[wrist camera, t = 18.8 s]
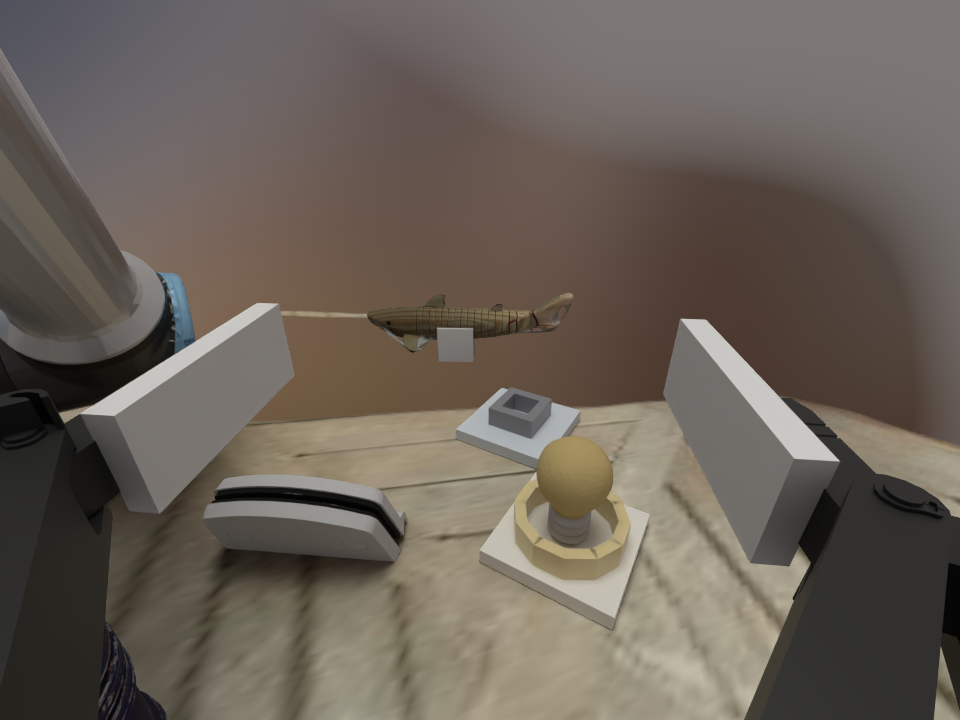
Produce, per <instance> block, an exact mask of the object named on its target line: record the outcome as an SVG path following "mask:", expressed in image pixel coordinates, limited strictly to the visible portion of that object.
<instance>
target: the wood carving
mask: <svg viewBox="0 0 960 720" xmlns="http://www.w3.org/2000/svg"><path fill="white" fill-rule="evenodd" d="M444 297H445V295H437V296H434V297H433V298H432V299H431V300H429V301H428V302H427V304H426V305H425V306H424V307H416V308H415V307H411V308H410V307H398V308H394V309H393V308H388V309H381V310H374V311H369V312H368V314H367V317H368V319H369V320H370V321H371V323H373V324H374V325H376V326H378V327H380V328H381V329H382V330H384V331H385V332H386V333H387V334H388V335H389V336H391V337H392V338H394V339H395V340H397V341H398V342H399V343H400V344H402V345H403V346H404V347H405V348H407V349H408V350H409V351H411V352H415V351H419V350H421V349H423V348H420V347H421V346H422V345H424V344H426V343H427V342H430V341H432V340H438V357H439V361H474V351H475V339H477V338H487V337H496V336H502V335H509V334H516V333H533V332H550V331H554V330H555V329H556V328H557V327H558V326H559V324H560V323H561V321H562V319H563V318H564V317H565V315H566V313H567V312H568V310H569V308H570V306H571V304H572V301H573V295H572V294H571V293H566V294H563V295H560V296H558V297H556V298H554V299H552V300H550V301H548V302H547V303H545V304H543V305H541V306H539V307H538V308H536V309H533V310H528V311H522V310H521V311H514V310H503V306H502V304H497V305H496V306H494V307H493V308H492V309H483V308H477V309H473V308H464V309H461V308H447V307H446V306H445V302H444ZM563 306H565V313H564V316H563V318H562V319H561V321H559V320H558V319H557V315H558V312H559V310H560V309H561V308H562V307H563ZM531 328H542V329H543V330H538V331H529V330H532V329H531ZM394 335H395V336H399V337H403V341H399V340H398V339H397V338H396V337H395V336H394Z"/></svg>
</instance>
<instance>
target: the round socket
mask: <svg viewBox="0 0 960 720" xmlns="http://www.w3.org/2000/svg"><path fill="white" fill-rule="evenodd" d="M548 513H549V502H548V501H547V500H546V498H545V497H544V496H543V494H542V492H541V490H540V488H539V485H538V481H537V475H536V473H535V474H534V476H533V477H532V478H531V480H530V481H529V482H528V483H527V484H526V485H525V486H524V488H523V489H522V491H521V492H520V493H519V495H518V496H517V497H516V499H515V501H514V503H513V505H512V506H511V508H510V509H509V510H508V512H507V513H506V514H505V516H504V517H503V519H502V520H501V521H500V523H499V524H498V525H497V527H496V528H495V530H494V531H493V532H492V534H491V535H490V537H489V538H488V539H487V541H486V542H485V543H484V545H483V546H482V548H481V549H480V562H481V563H483V564H485V565H487V566H489V567H491V568H493V569H495V570H497V571H499V572H500V573H502V574H504V575H506V576H508V577H510V578H512V579H514V580H516V581H518V582H520V583H522V584H524V585H526V586H527V587H529V588H531V589H533V590H535V591H537V592H539V593H541V594H543V595H545V596H547V597H549V598H551V599H553V600H555V601H556V602H558V603H560V604H562V605H564V606H566V607H568V608H570V609H572V610H574V611H576V612H578V613H580V614H582V615H584V616H585V617H587V618H589V619H591V620H593V621H595V622H597V623H599V624H601V625H603V626H605V627H607V628H609V629H611V630H613V627H614V624H615V621H616V618H617V615H618V612H619V609H620V606H621V603H622V600H623V597H624V594H625V591H626V588H627V585H628V582H629V579H630V576H631V573H632V570H633V567H634V564H635V561H636V558H637V555H638V552H639V549H640V546H641V543H642V541H643V538H644V535H645V532H646V529H647V526H648V521H649V517H650V514H647V513H645V512H642V511H640V510H637V509H634V508H632V507H629V506H626V505H624V503H623V501H622V500H621V499H620V498H618V497H617V496H616V495H615V494H614V493H613V492H612V491H610V493H609V495H608V497H607V498H606V499H605V500H604V502H603V503H602V504H601V505H600V506H598V507H597V508H595V509H594V510H592V511H591V517H590V525H589V532H588V535H587V537H586V538H585V539H584V540H583V541H581V542H579V543H576V544H567V543H563V542H560V541H558V540H557V539H555V538H554V537H553V536H552V535H551V534H550V532H549V530H548Z"/></svg>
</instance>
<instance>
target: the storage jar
mask: <svg viewBox="0 0 960 720" xmlns="http://www.w3.org/2000/svg"><path fill="white" fill-rule="evenodd" d="M98 720H168V718H167V715H166V713H165V711H164V710H163V708H162V707H161V705H160V704H159V703H158V702H156V701H155V700H154V699H153V698H151V697H150V696H149V695H148V694H146V693H144V692H142V691H139V689H138V687H137V686H136V676H135V673H134V668H133V664H132V661H131V657H130V656H129V654H128V653H127V651H126V649H125V648H124V647H122V644H121V643H120V641H119V639H118V638H117V636H116V635H115V633H114V631H113V630H112V628H111V627H110V625H109V624H108V623H107V622H106V621H105V626H104V639H103V653H102V667H101V681H100V695H99V709H98Z"/></svg>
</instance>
